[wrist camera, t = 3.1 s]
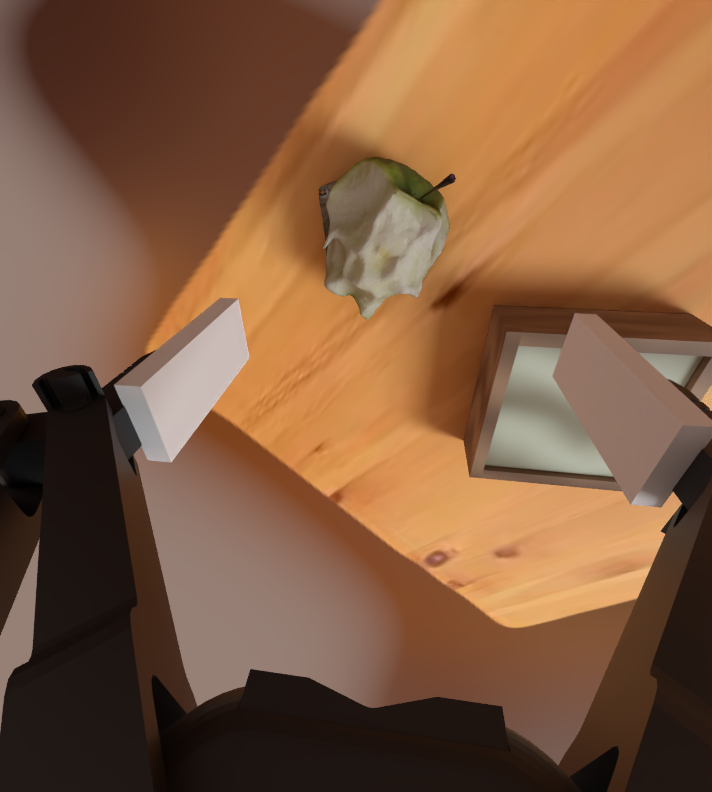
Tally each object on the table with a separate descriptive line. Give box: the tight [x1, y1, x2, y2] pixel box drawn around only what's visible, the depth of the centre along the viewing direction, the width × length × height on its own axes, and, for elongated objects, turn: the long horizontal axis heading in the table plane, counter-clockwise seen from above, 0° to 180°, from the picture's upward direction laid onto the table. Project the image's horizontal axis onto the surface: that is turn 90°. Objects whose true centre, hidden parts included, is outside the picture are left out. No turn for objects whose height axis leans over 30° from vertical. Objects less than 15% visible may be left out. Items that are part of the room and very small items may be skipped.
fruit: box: [319, 157, 456, 319], centre depth 24 cm, size 9×9×8 cm
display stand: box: [464, 305, 712, 491], centre depth 30 cm, size 14×14×5 cm
